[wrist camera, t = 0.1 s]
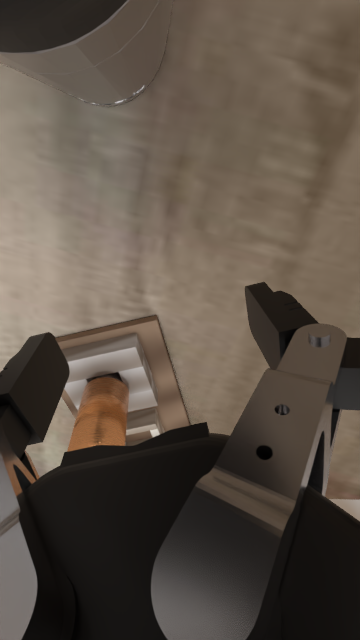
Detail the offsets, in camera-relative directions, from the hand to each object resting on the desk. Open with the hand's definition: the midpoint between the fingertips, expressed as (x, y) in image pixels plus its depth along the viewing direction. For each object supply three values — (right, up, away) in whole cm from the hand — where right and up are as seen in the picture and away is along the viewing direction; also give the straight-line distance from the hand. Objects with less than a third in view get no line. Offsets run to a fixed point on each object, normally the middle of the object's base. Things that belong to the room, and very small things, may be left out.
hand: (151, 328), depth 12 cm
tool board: (-6, -10, +26) cm, 28 cm away
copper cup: (-7, -6, +22) cm, 24 cm away
